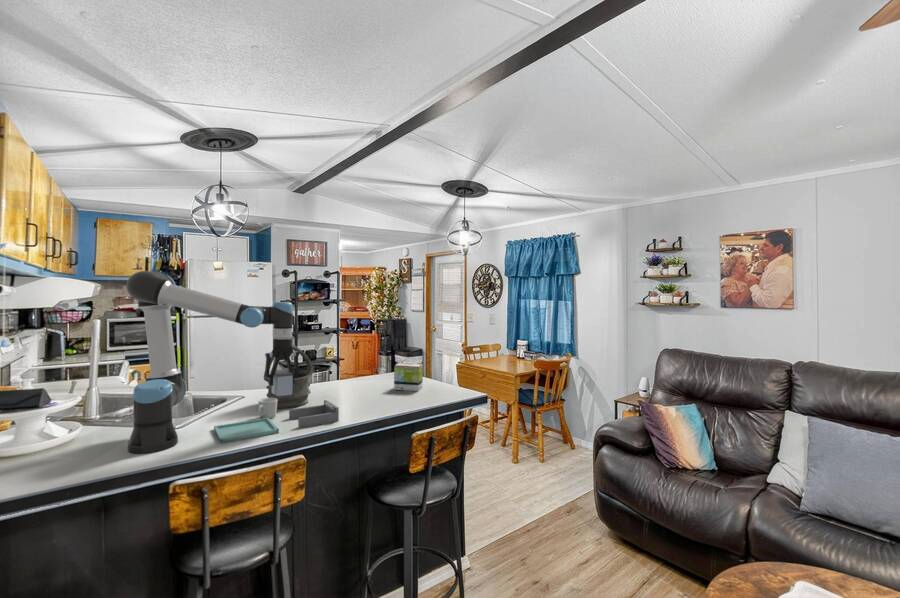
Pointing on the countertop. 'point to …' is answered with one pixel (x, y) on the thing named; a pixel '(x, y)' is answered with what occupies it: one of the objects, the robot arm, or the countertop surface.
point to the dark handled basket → (294, 385)
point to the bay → (315, 414)
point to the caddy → (283, 382)
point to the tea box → (408, 376)
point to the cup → (267, 407)
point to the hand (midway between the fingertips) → (281, 392)
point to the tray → (245, 430)
